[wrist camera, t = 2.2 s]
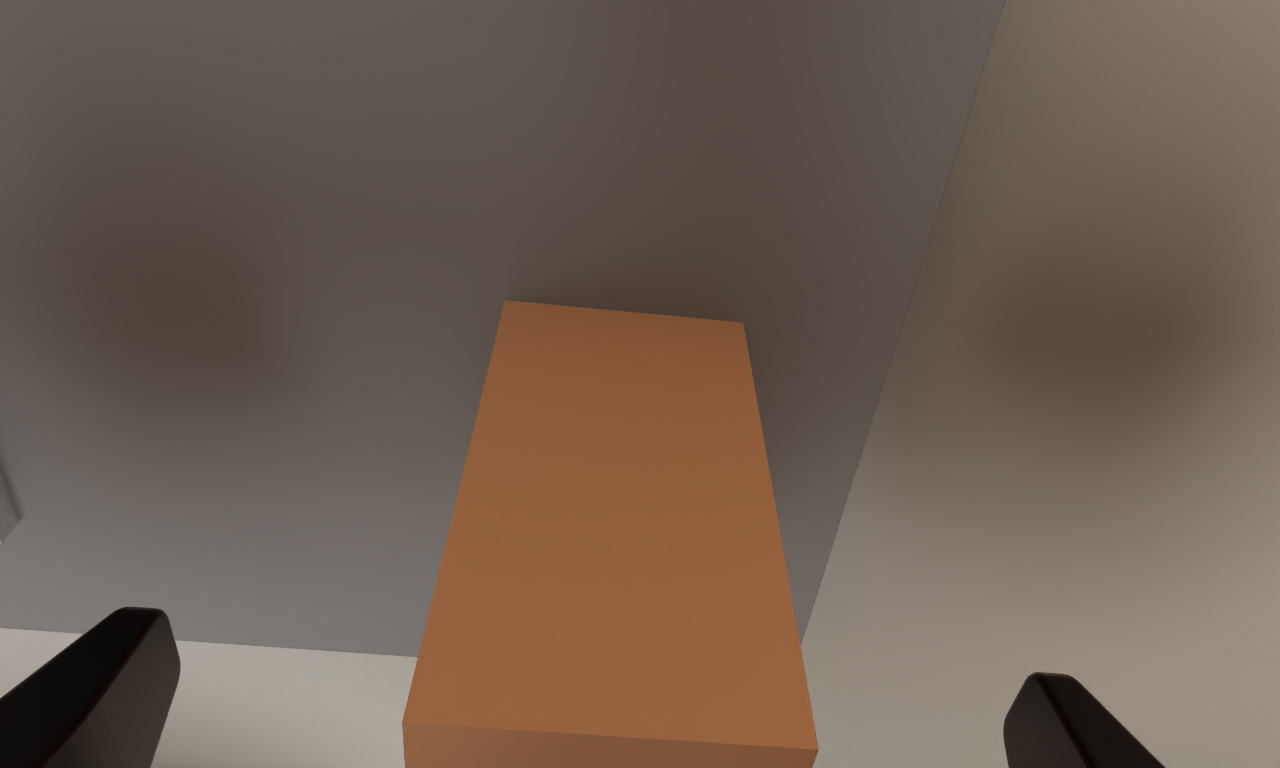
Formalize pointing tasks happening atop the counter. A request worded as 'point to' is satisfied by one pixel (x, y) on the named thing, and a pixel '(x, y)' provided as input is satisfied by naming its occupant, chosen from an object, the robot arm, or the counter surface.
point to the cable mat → (421, 268)
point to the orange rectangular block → (613, 560)
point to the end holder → (7, 510)
